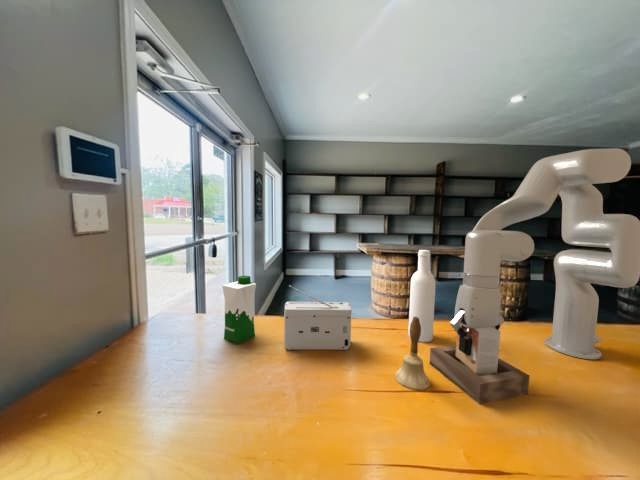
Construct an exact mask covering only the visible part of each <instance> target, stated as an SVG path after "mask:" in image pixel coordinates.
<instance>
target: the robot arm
mask: <svg viewBox="0 0 640 480" xmlns="http://www.w3.org/2000/svg"><path fill="white" fill-rule="evenodd" d="M631 166H632V159H631V156H630V154H629V153H628V151H625V150H624V149H622V148H618V147H617V148H616V147H615V148H612V147H611V148H588V149H582V150H576V151H570V152H566V153H560V154H556V155H555V154H554V155H550V156H547V157H544V158H541V159H539V160H537V161H536V162H535V163H534V164H533V165H532V166H531V168H530V169H529V170H528V172H527V174H526V176H524V178H523V180H522V182H521V183H520V185H519V187H518V188H517V190H516V191H515V192H514V194H513V195H512V196H511V197H510V198H508V199H506V200H504V201H503V202H501V203H500V204H498V205H496V206H495V207H493V208H491V210H489V211H487V212H486V213H484V215H482V216H481V218H480V219H479V220H478V222H477V223H476V225H475V226H474V228H473V229H472V230H471V231H469V232H468V233H467V234H466V236H465V243H464V244H465V245H464V260H463V261H464V262H463V274H462V275H463V277H462V284H460V285H459V288H458V291H457V296H456V301H455V306H454V316H453V317H454V318H453V319H452V320H451V321H450V322H449V324H450V326H451V328H453V329H454V331H455V332H456V335H457V334H458V335H459V336H460V337H459V350H460V351H462V352H463V353H465V354H466V355H468V356H469V355H471V346H472V340H471V339H470V336H471V334H472V329H473V328H482V327H492V328H494V329H496V330H499V331H500V328H501V326H502V325H503V323H504V322H505V319H504V317H503V316H502V315H501V314H502V312H501V311H502V301H501V298H502V297H501V291H500V287H499V286H500V272H501V262H502V261H508V262H522V261H526V259H528V258H530V257H531V255H533V253H534V251H535V243H534V240H533V238H532V237H531V236H530V235H529V234H527V233H525V232H523V231H519V230H503V229H504V228H506V227H508V226H511V225H513V224H516V223H520V222H523V221H527V220H530V219H533V218H536V217H540V216H541V215H543V214H545V213H547V212H548V211H549V210H550V208H551V207H552V205H553V204H554V202H555V201H556V198H557V197H558V195H559V197H560V198H561V205H562V207H561V210H562V211H561V238H562V240H563V242H564V243H566V244H568V245H573V246H578V247H579V246H581V247H590V248H591V247H593V248H607V249H609V250H610V251H611V252H606V251H598V250H586V249H567V250H562V251H559V252H558V253H556V254H555V256H554V258H553V259H554V260H553V268H554V269H553V270H554V276H555V294H554V295H555V296H554V297H555V298H554V304H553V305H554V306H553V318H552V319H553V320H552V329H551V337H550V336H549V337H546V338H545V339H544V344H545V345H546V346H547V347H549V348H551V349H552V350H554V351H556V352H559V353H561V354H564V355H567V356H570V357H575V358H578V359H583V360H584V359H585V360H598V359H601V358H602V351H600V350H599V349H597V348H595V344H597V343H602V338H601V337H600V336H596V333H597V323H598V312H599V302H600V300H599V295H598V293H597V291H596V290H595V288H594V287H593V286H592V285H591V284H595V285H601V286H609V287H613V288H621V289H622V288H623V289H627V288H632V287H634V286H636V284H637V283H638V282H639V279H640V220H639V219H638V217H636V216H634V215H632V214H625V213H604V211H603V209H604V207H603V206H604V205H603V204H604V199H603V198H604V197H603V195H602V193H601V191H599V190H598V188H596V186H594V185H595V184H596V185H597V184H606V183H615V182H619V181H620V180H623V179H624V178H625V177H626V176H627V175H628V173H629V171H630V170H631ZM460 323H461V325H460ZM465 327H466V328H467V331H466V332H465V331H464V330H465Z"/></svg>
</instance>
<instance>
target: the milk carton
mask: <svg viewBox="0 0 640 480" xmlns="http://www.w3.org/2000/svg"><path fill="white" fill-rule="evenodd" d="M251 281H252V280H251V276H250V275H240V276H238V277H237V280H236V281H233V282H229V283H227V284H223V285H222V291H223V298H224V333H223V334H224V335H223V339H224V340H227V341H229V342H232V343H234V344H238V345H239V344H242V343H243V342H245V341H247V340H250V339H251V338H254V337H255V336H256V334H255V333H256V332H255V330H256V329H255V315H254V314H255V292H256V287H257V283H256V282H251Z"/></svg>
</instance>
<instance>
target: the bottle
mask: <svg viewBox="0 0 640 480" xmlns="http://www.w3.org/2000/svg"><path fill="white" fill-rule="evenodd" d="M417 257H418V258H417V259H418V260H417V270H416V271H415V272H414V273H413V274H412V276H411V278H410V287H409V289H410V291H409V293H410V294H409V308H408V309H409V313H408V329H407V331H408V332H407V334H408V335H407V336H408V337H409V338H410V325H411V322H412V320H413V317H418V318H419V322H420V325H421V335H420V338H419V340H418V343H419V342H420V343H429V342H432V341H433V340H434V339H433V337H434V321H435V318H434V317H435V303H436V302H435V299H436V278H435V276H434V275H433V273H432V272H431V271H430V266H431V265H430V262H431V250H429V249H419V250H418V253H417Z"/></svg>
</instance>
